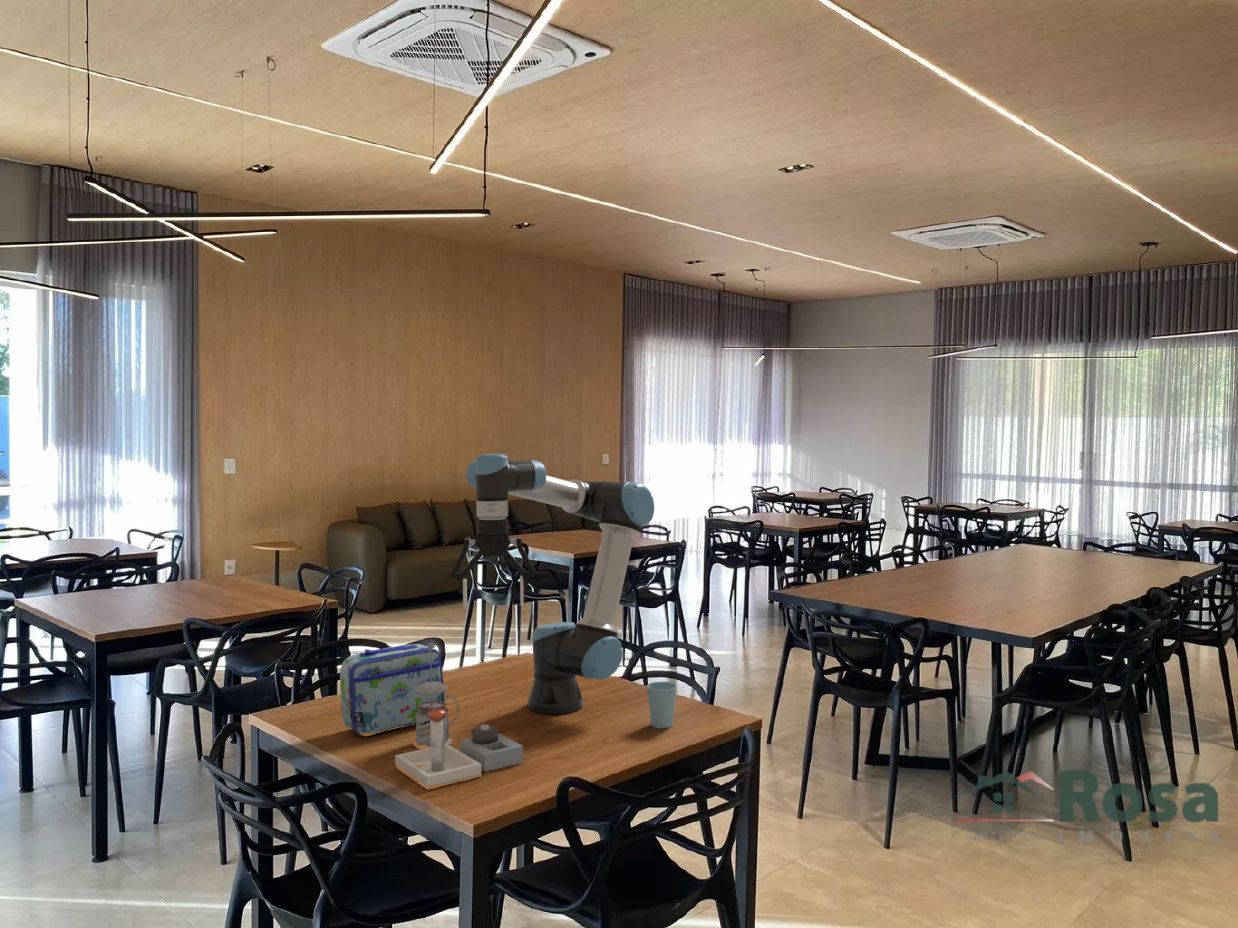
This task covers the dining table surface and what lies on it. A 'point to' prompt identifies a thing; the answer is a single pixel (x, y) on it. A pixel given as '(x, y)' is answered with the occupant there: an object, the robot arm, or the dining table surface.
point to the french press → (424, 707)
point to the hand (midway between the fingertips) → (493, 606)
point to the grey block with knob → (491, 748)
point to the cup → (661, 703)
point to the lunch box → (387, 686)
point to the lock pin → (437, 738)
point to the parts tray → (454, 770)
